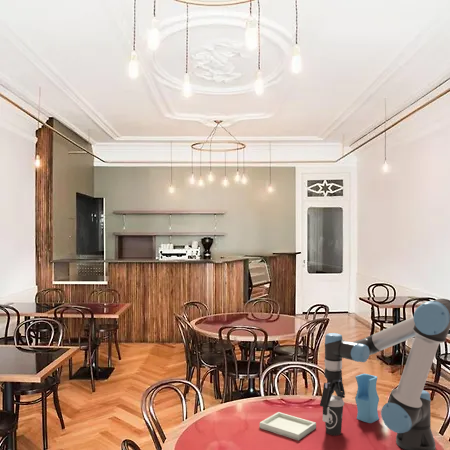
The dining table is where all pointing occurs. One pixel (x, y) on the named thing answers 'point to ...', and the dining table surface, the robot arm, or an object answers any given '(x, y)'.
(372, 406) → the vase
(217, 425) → the dining table surface
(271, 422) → the tray
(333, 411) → the coffee cup
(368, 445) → the dining table surface
